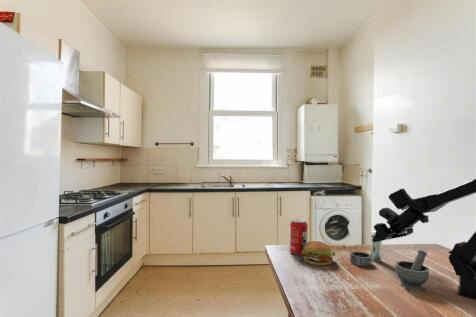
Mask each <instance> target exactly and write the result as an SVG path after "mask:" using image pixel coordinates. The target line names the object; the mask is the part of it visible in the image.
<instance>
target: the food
mask: <svg viewBox="0 0 476 317" xmlns="http://www.w3.org/2000/svg"><path fill="white" fill-rule="evenodd" d="M301 254H302V255H301V257H302V260H303V261H304V262H306V263H308V264H310V265H313V266H321V267H322V266H328V265H331V264H332V262H333V260H334V258H333V257H335V256H336V252H335V251H334V248H333V247H331V246H330V245H329V244H328V243H325V242H324V241H323V242H322V241H320V240H313V241H309V242H308V241H307V243H306V244H305V246H303V250H302V251H301Z"/></svg>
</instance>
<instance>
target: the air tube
mask: <svg viewBox="0 0 476 317" xmlns="http://www.w3.org/2000/svg"><path fill="white" fill-rule="evenodd" d="M370 232H371V233H370V235H371V236H370V238H371V239H370V255H371V256H372V262H374V263H381V262H382V243H383V242H382V241H378V242H373V241H372V239H373V237H374V236H375V234H376V230H375V229H373V230H371V231H370Z"/></svg>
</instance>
